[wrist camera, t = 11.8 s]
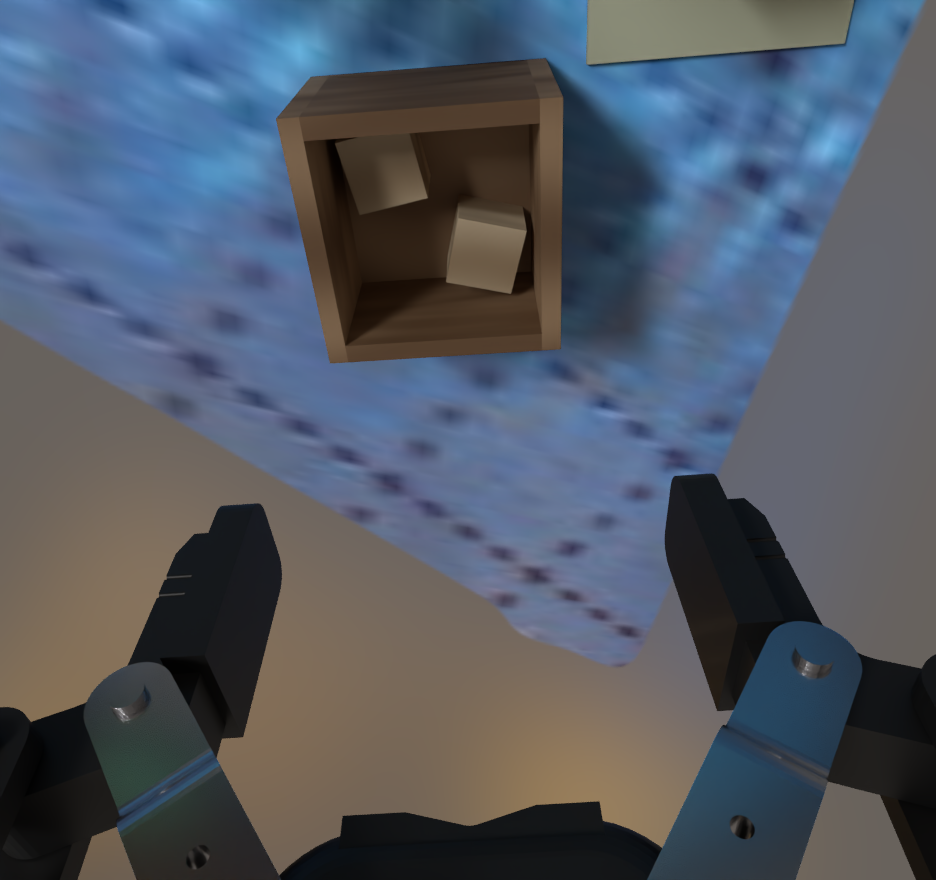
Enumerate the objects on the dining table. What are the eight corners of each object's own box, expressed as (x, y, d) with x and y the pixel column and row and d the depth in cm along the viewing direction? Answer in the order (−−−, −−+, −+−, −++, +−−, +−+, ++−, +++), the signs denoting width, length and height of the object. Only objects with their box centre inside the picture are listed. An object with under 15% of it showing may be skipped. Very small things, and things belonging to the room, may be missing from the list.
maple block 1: (345, 123, 31) (334, 143, 28) (411, 105, 30) (406, 124, 28) (367, 191, 33) (359, 215, 30) (430, 175, 32) (427, 198, 30)
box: (311, 76, 30) (276, 118, 25) (545, 58, 30) (562, 97, 24) (351, 291, 37) (330, 363, 31) (546, 278, 36) (560, 349, 31)
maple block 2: (458, 194, 33) (458, 218, 30) (522, 206, 33) (526, 231, 31) (447, 254, 34) (446, 282, 32) (508, 266, 35) (510, 293, 32)
